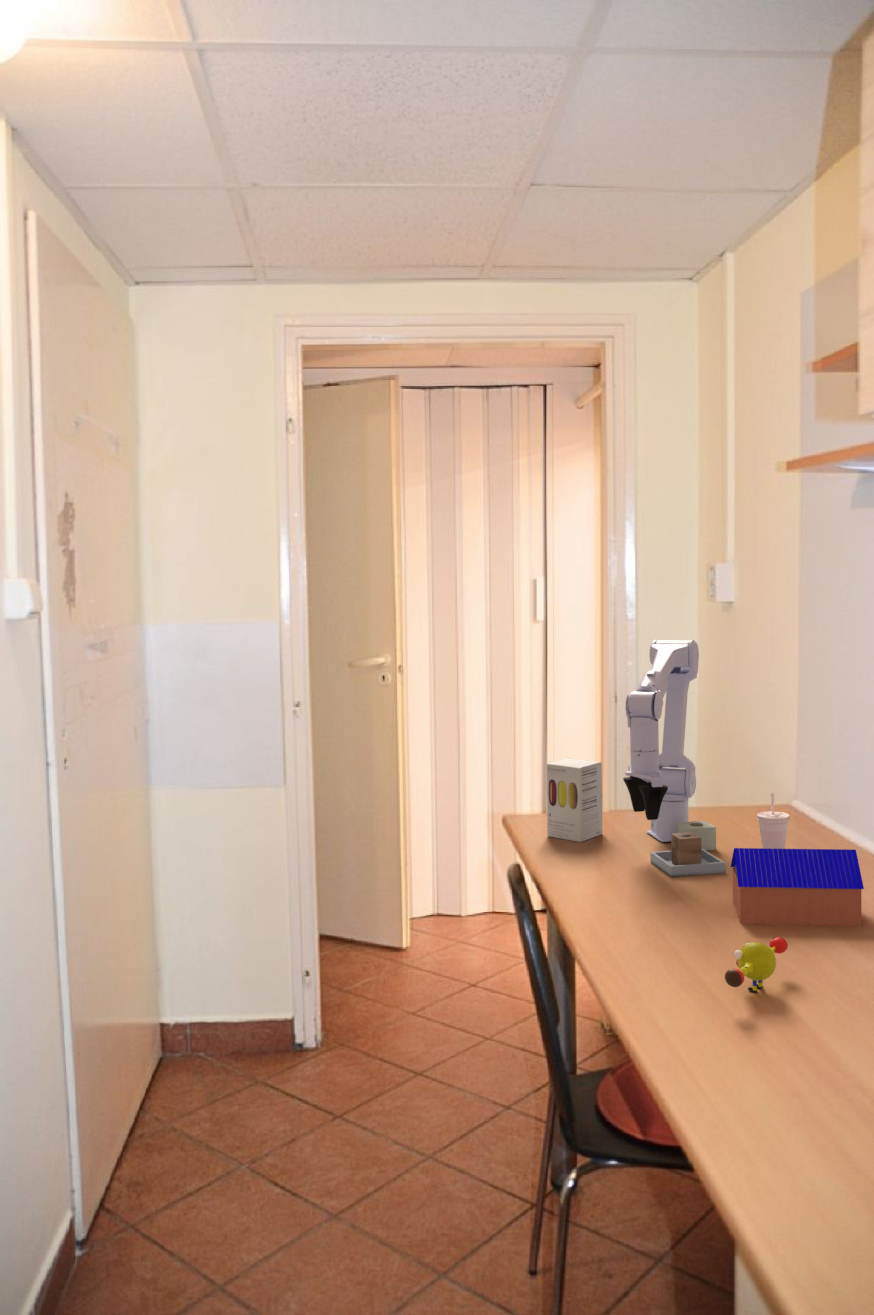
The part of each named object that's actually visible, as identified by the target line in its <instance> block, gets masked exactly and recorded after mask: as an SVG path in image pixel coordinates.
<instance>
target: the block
mask: <svg viewBox="0 0 874 1315" xmlns="http://www.w3.org/2000/svg"><path fill="white" fill-rule="evenodd" d="M670 845H671V846H670V848H671V851H672V863H673V864H674V865H675V866H676V865H688V864H701V863H702V845H701V837H700V836H698V835H696V834H695V833H693V832H689V833H675V834H671V844H670Z"/></svg>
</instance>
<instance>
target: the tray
mask: <svg viewBox="0 0 874 1315" xmlns="http://www.w3.org/2000/svg"><path fill="white" fill-rule="evenodd" d="M649 857H650V858H649V859H650V863H652V864H653V865H654V866H656V867H657V868H659V869H660V870H661V871H662V872H664V873H665V874H666V875H667V876H669V877H671V878H672V877H673V878H674V877H685V876H698V875H700V876H701V875H710V874H723V873H726V862H725V861H724V860H722V859H720V858H718V857H717V856H715V855H714V854H712V853H711V852H709V851H708V850H704V849H702V863H701V864H688V865H676V866H675V865H674V864H673V863H672V850H661V851H651V852H650V856H649Z"/></svg>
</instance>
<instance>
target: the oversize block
mask: <svg viewBox="0 0 874 1315" xmlns="http://www.w3.org/2000/svg"><path fill="white" fill-rule="evenodd" d="M689 832H693V833H695V834H696V835H698V836H700V837H701V845H702V849H704V850H706V851H715V850H717V826H715V825H713V824H711V823H709V822H708V821H705V820H693V821H689V822H680V823H678V833H689Z"/></svg>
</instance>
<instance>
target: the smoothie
mask: <svg viewBox="0 0 874 1315" xmlns="http://www.w3.org/2000/svg"><path fill="white" fill-rule="evenodd" d="M770 802H771V804H770V810H769V811H761V812H757V814H756V815H757V816H756V820H757V821H758V825H759V826H758V827H759V834H760V842H761V848H766V849H786V842H787V834H788V826H789V822H790V821H791V819H790V814H789V813H787V812H781V811H775V793H774V792H771V793H770Z"/></svg>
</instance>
